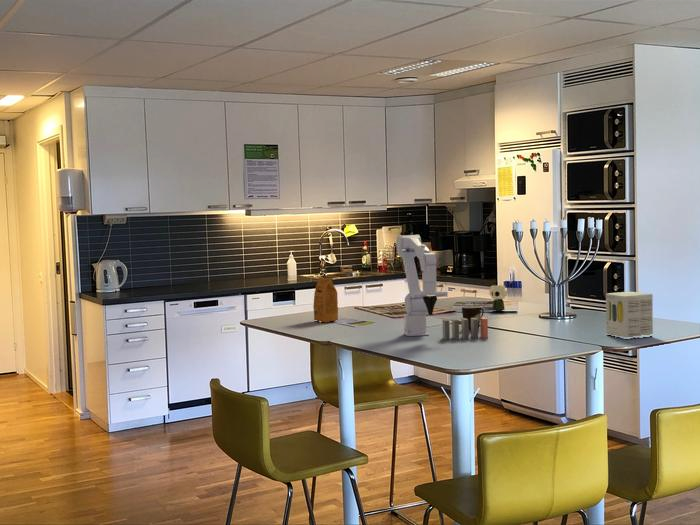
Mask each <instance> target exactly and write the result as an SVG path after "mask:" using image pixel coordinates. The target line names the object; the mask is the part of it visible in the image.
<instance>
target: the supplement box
mask: <svg viewBox="0 0 700 525" xmlns="http://www.w3.org/2000/svg"><path fill="white" fill-rule="evenodd" d="M653 300H654V299H653V293H646V292H640V291H639V292H637V291H621V292H610V293H609V292H608V293H605V320H606V321H605V322H606V323H605V324H606V326H605V330H606V331H605V332H606V333H607V334H611V335H617V336H623V337H633V336H641V335H650V334H653V328H654V327H653V326H654V325H653V323H654V322H653V321H654V320H653V313H654V312H653ZM653 335H654V334H653Z"/></svg>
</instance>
